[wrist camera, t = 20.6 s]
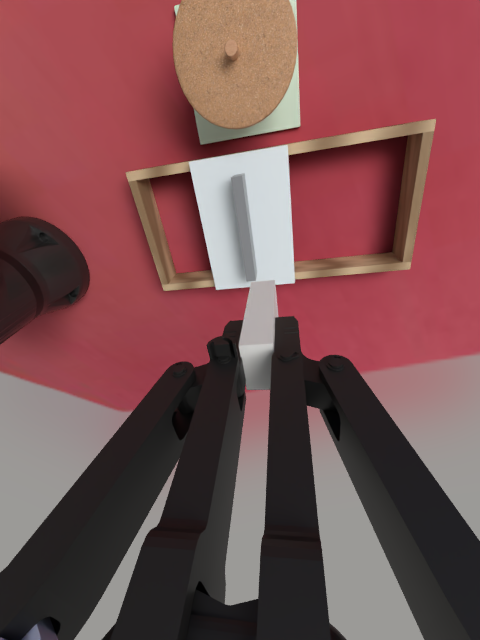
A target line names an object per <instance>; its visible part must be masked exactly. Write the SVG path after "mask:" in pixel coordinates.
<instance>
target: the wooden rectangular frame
mask: <svg viewBox="0 0 480 640" xmlns="http://www.w3.org/2000/svg"><path fill="white" fill-rule="evenodd" d="M435 122H436V119H432V120H424V121H417V122H411V123H406V124H400V125H394V126H388V127H383V128H377V129H371V130H365V131H359V132H354V133H348V134H342V135H336V136H331V137H325V138H319V139H313V140H307V141H302V142H296V143H290V144H284V145H288V155H292V154H298V153H304V152H310V151H316V150H322V149H328V148H334V147H340V146H346V145H352V144H358V143H364V142H370V141H376V140H382V139H388V138H394V137H400V136H406V135H408V139H407V146H406V154H405V161H404V168H403V176H402V183H401V191H400V198H399V206H398V213H397V220H396V228H395V235H394V243H393V250H392V252H389V253H379V254H369V255H359V256H349V257H339V258H329V259H318V260H308V261H298V262H294V272H295V279H305V278H316V277H328V276H339V275H350V274H362V273H373V272H384V271H396V270H407V269H410V266H411V260H412V254H413V249H414V243H415V237H416V231H417V226H418V220H419V214H420V208H421V203H422V197H423V191H424V185H425V180H426V174H427V168H428V162H429V157H430V151H431V145H432V139H433V134H434V128H435ZM279 146H283V145H279ZM273 147H277V146H273ZM267 148H271V147H267ZM261 149H265V148H261ZM255 150H260V149H255ZM250 151H254V150H250ZM244 152H248V151H244ZM238 153H242V152H238ZM232 154H236V153H232ZM227 155H231V154H227ZM221 156H225V155H221ZM215 157H219V156H215ZM209 158H213V157H209ZM203 159H207V158H203ZM198 160H202V159H198ZM192 161H196V160H192ZM189 162H190V161H186V162H180V163H175V164H169V165H163V166H157V167H151V168H146V169H140V170H135V171H130V172H126V176H127V179H128V182H129V185H130V188H131V191H132V194H133V197H134V200H135V203H136V207H137V210H138V213H139V216H140V219H141V222H142V225H143V228H144V231H145V234H146V238H147V241H148V244H149V247H150V250H151V253H152V256H153V259H154V262H155V265H156V269H157V272H158V275H159V278H160V281H161V284H162V287H163V290H164V291H168V290H180V289H191V288H203V287H214V286H215V283H214V278H213V273H212V270H207V271H197V272H187V273H177V274H176V271H175V267H174V264H173V260H172V257H171V253H170V250H169V246H168V243H167V239H166V236H165V232H164V229H163V225H162V222H161V218H160V215H159V211H158V208H157V204H156V201H155V197H154V194H153V190H152V187H151V183H150V180H149V178H153V177H159V176H165V175H171V174H177V173H183V172H189V171H190V166H189Z"/></svg>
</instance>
